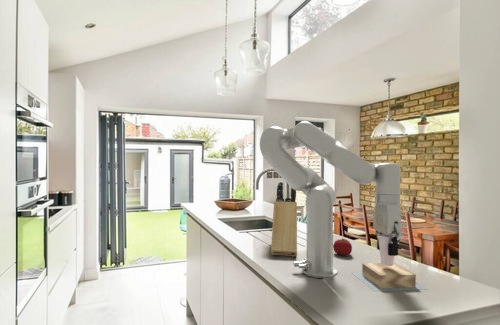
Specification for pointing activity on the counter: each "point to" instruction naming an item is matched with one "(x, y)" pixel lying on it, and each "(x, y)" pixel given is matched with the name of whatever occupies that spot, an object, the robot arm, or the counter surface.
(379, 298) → the counter surface
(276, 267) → the counter surface
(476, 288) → the counter surface
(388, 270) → the oak riser
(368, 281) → the base board
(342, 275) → the counter surface
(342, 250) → the tomato
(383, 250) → the smoothie
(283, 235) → the knife block
